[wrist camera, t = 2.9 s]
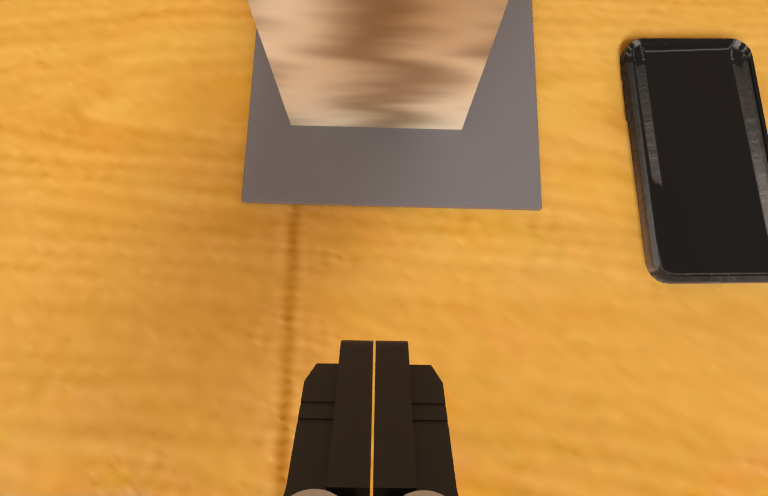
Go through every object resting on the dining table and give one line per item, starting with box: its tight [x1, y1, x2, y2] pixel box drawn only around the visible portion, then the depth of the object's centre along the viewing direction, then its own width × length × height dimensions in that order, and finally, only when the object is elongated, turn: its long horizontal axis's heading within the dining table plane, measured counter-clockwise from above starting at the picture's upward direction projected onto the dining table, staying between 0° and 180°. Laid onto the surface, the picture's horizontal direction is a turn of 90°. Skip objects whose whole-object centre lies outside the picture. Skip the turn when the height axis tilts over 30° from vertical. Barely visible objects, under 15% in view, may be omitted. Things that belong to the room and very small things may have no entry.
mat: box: [242, 0, 542, 210], centre depth 32 cm, size 17×21×1 cm
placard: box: [247, 0, 509, 130], centre depth 24 cm, size 10×2×14 cm, turn 89°
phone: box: [620, 38, 768, 284], centre depth 30 cm, size 8×1×15 cm
